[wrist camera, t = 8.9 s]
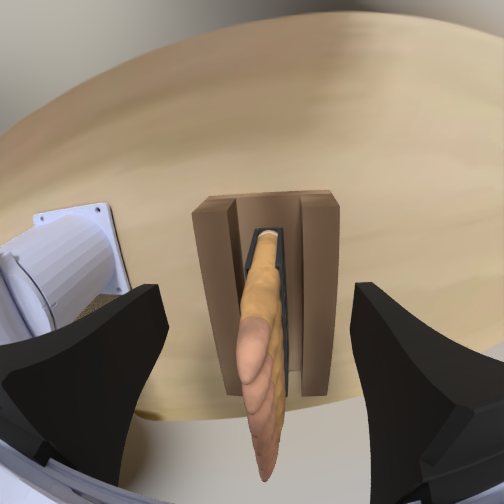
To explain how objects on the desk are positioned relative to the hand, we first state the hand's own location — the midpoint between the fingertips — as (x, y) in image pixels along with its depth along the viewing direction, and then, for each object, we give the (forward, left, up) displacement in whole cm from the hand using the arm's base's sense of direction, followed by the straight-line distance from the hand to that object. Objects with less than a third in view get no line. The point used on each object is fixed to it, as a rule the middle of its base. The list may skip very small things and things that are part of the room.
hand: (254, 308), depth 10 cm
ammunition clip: (0, -6, -10) cm, 11 cm away
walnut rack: (0, -6, -10) cm, 12 cm away
